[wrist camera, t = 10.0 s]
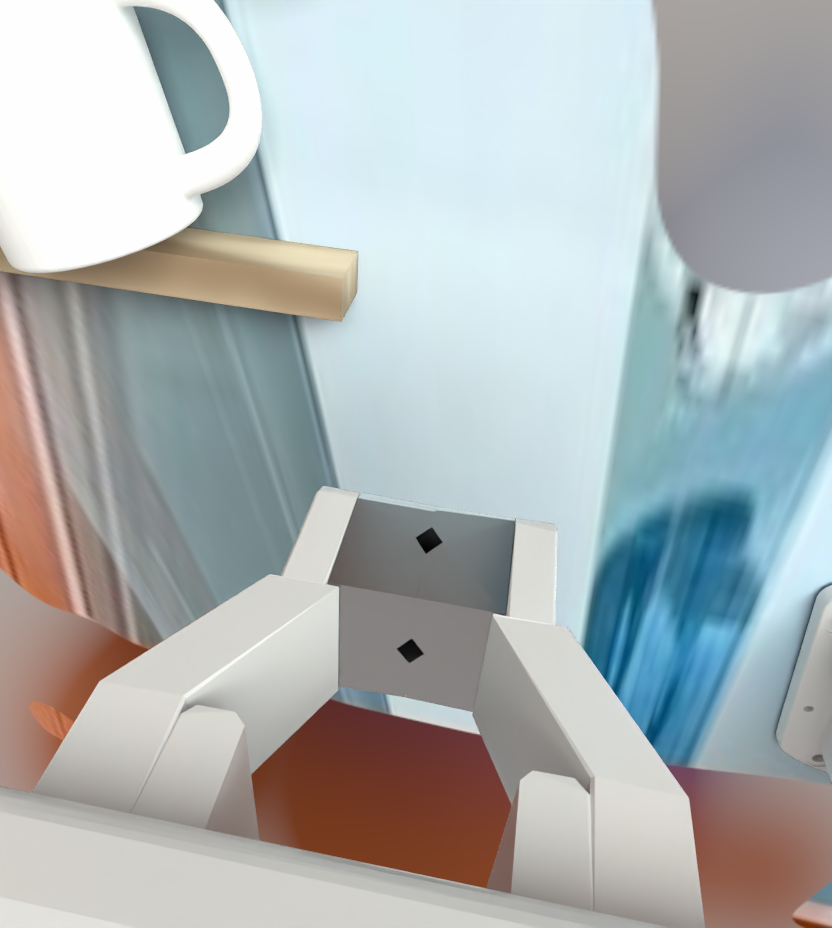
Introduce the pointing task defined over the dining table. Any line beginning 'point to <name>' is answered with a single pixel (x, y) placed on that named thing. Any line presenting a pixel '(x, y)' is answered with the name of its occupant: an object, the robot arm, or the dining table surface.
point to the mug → (105, 131)
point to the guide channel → (230, 273)
